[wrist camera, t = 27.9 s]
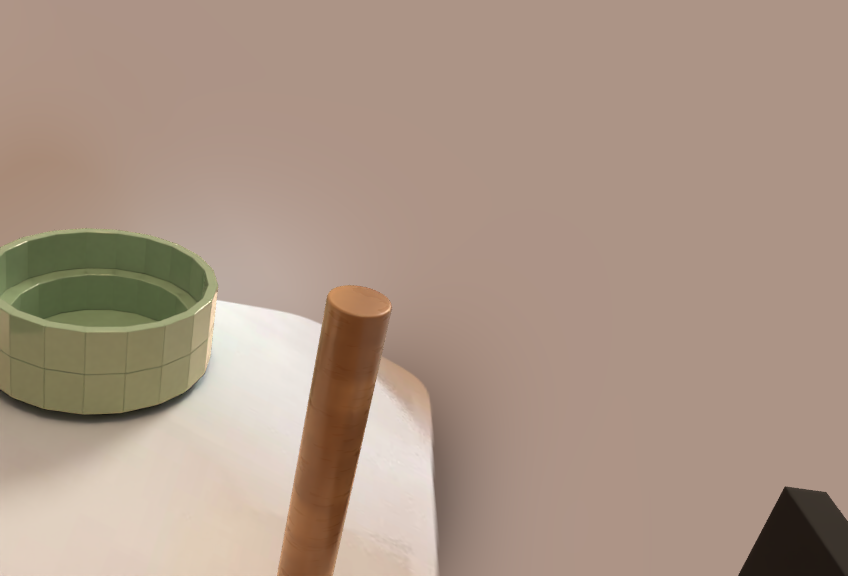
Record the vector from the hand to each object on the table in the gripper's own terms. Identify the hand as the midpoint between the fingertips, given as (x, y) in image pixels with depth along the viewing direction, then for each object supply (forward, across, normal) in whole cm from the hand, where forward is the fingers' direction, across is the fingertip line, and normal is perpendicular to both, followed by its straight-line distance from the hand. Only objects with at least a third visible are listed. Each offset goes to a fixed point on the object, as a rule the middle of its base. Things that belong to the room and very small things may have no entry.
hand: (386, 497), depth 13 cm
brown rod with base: (+14, 0, -21) cm, 25 cm away
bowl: (+34, -14, -21) cm, 42 cm away
